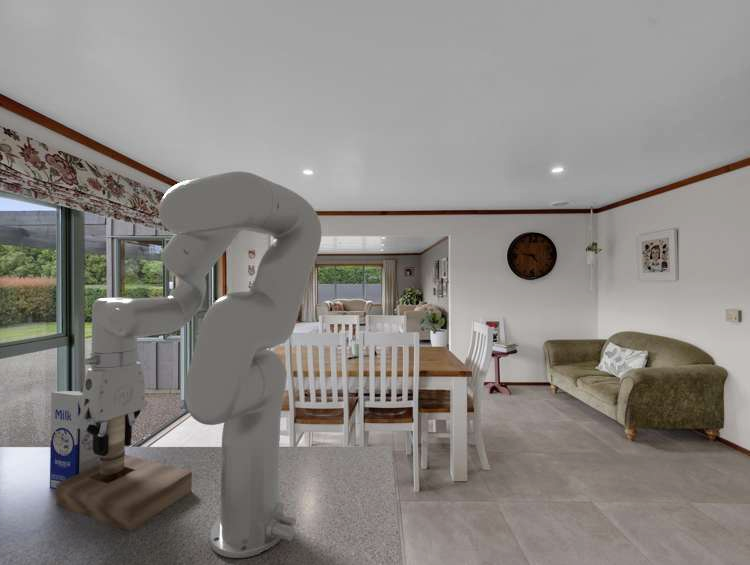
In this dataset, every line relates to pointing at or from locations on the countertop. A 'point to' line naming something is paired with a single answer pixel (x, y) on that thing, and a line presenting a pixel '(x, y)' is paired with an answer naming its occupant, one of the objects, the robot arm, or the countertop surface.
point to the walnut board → (124, 492)
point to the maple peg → (114, 447)
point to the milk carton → (69, 438)
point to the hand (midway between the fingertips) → (112, 448)
